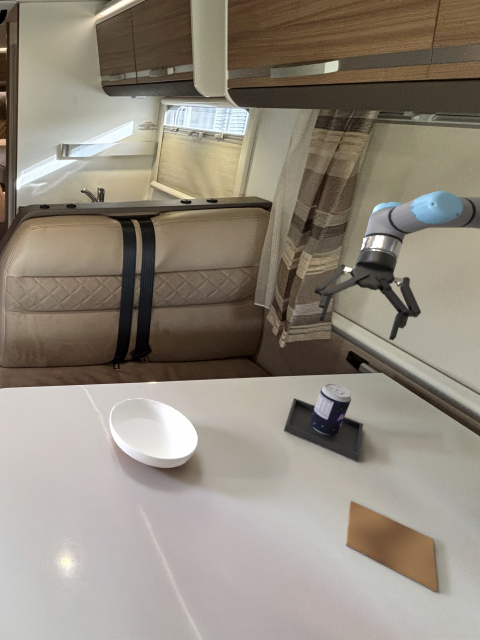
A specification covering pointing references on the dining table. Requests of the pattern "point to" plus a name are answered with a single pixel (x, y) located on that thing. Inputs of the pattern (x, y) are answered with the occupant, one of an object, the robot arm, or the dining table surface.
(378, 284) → the robot arm
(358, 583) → the dining table surface
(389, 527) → the trivet
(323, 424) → the beverage can
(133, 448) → the bowl
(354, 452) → the tray
